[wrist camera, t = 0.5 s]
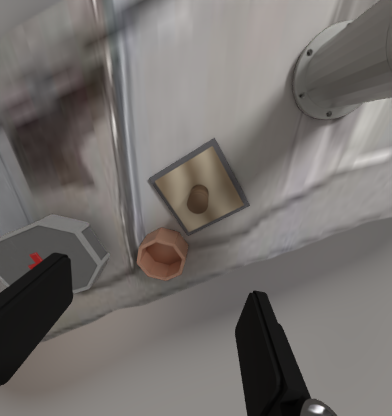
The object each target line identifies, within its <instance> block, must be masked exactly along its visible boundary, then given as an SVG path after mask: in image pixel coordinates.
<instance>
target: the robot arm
mask: <svg viewBox="0 0 392 416" xmlns="http://www.w3.org/2000/svg"><path fill="white" fill-rule="evenodd" d="M307 53H308V56H307ZM292 86H293V94H294V98H295V101H296V103H297V105H298V106H299V108H300V109H301V110H302V111H303V112H304V113H305V114H307V115H308V116H310V117H312V118H315V119H321V120H327V119H335V118H339V117H342V116H345V115H347V114H349V113H350V112H352V111H354V110H355V109H357V108H358V107H359V106H361V105H362V104H363V103H365V102H370V101H375V100H380V99H386V98H391V97H392V0H380V1H378V2H377V3H376V4H374V5H373V6H372V7H371V8H369V9H368V10H367V11H365V12H364V13H363V14H362V15H360V16H359V17H358V18H357V19H355V20H345V21H341V22H338V23H335V24H333V25H331V26H329V27H328V28H326V29H324V30H323V31H322V32H321V33H319V34H318V35H317V36H316V37H315V38H314V39H313V40H312V41H311V42H310V43H309V44H308V45H307V47H306V48H305V49H304V51H303V52H302V54H301V56H300V57H299V59H298V62H297V64H296V67H295V71H294V75H293V85H292ZM299 95H301V98H300V97H299ZM326 114H327V116H326ZM72 299H73V288H72V271H71V259H70V258H68V255H66V254H61V253H56V252H55V253H52V254H51V255H49V256H48V257H47V258H45V259H44V260H43V261H41V262H40V263H39V264H37V265H36V266H35V267H33V268H32V269H31V270H30V271H28V272H27V273H26V274H24V275H23V276H22V277H20V278H19V279H18V280H16V281H15V282H14V283H12V284H11V285H10V286H8V287H7V288H6V289H5V290H3V291H2V292H1V293H0V386H1V385H4V384H5V383H7V382H8V381H9V380H10V378H11V377H12V376H13V375H14V373H15V372H16V371H17V370H18V368H19V367H20V366H21V365H22V364H23V362H24V361H25V360H26V359H27V357H28V356H29V355H30V353H31V352H32V351H33V350H34V349H35V347H36V346H37V345H38V344H39V342H40V341H41V340H42V339H43V337H44V336H45V335H46V334H47V333H48V331H49V330H50V329H51V328H52V326H53V325H54V324H55V323H56V321H57V320H58V319H59V318H60V316H61V315H62V314H63V313H64V311H65V310H66V309H67V308H68V306H69V305H70V304H71V302H72ZM235 337H236V343H237V349H238V356H239V362H240V370H241V376H242V383H243V390H244V395H245V402H246V410H247V416H337V415H336V414H335V413H334V412H333V410H331V408H330V407H328V406H327V405H326V404H324V403H323V402H321V401H319V400H317V399H311V397H310V394H309V392H308V390H307V387H306V385H305V382H304V380H303V377H302V374H301V372H300V369H299V367H298V365H297V362H296V360H295V357H294V355H293V352H292V350H291V347H290V345H289V343H288V340H287V337H286V335H285V333H284V330H283V328H282V326H281V325H280V324H279V323H278V322H277V320H276V317H275V315H274V312H273V309H272V307H271V304H270V302H269V299H268V296H267V294H266V293H265V292H259V291H253V293H250V294H249V295H248V298H247V300H246V303H245V306H244V308H243V310H242V313H241V316H240V318H239V321H238V323H237V326H236V329H235Z"/></svg>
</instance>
